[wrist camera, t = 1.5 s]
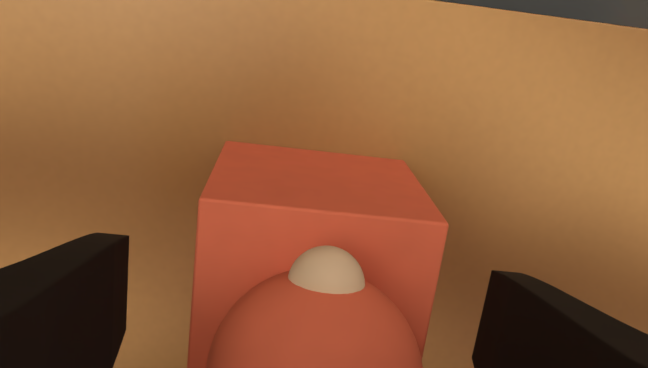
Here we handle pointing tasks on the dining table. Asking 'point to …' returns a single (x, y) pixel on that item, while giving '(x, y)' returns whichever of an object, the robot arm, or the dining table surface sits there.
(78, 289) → the robot arm
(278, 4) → the shelf
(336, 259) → the orange box
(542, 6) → the dining table surface
